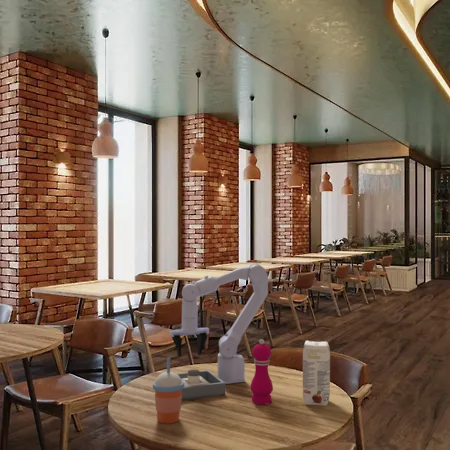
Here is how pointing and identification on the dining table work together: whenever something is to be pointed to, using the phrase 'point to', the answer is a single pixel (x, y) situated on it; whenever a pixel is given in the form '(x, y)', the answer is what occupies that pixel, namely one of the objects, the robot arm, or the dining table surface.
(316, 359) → the juice carton
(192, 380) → the connector peg
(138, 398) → the dining table surface
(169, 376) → the cup with straw
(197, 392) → the walled box
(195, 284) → the robot arm
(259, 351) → the pepper mill
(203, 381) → the inlet socket
